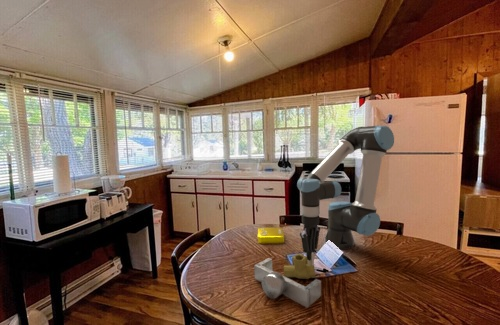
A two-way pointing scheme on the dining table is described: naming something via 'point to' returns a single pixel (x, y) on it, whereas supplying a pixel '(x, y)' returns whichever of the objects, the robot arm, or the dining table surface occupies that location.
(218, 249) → the dining table surface
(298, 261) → the brass pipe tee
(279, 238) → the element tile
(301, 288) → the grey bracket with knob
